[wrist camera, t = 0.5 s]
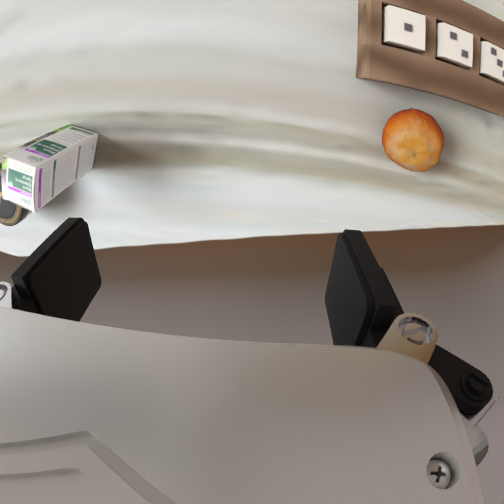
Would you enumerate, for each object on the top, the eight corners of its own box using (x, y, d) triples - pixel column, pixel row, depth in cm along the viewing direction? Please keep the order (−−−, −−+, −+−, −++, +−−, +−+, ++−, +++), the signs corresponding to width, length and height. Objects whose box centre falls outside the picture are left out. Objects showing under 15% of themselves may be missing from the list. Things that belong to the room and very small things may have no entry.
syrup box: (100, 132, 36) (36, 164, 24) (92, 170, 39) (34, 215, 27) (68, 124, 35) (1, 153, 23) (62, 161, 38) (0, 200, 26)
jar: (6, 189, 41) (-21, 208, 34) (16, 140, 36) (-14, 155, 30) (43, 216, 44) (18, 238, 37) (57, 167, 39) (28, 185, 32)
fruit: (450, 132, 33) (457, 166, 29) (406, 154, 39) (405, 189, 35) (417, 85, 30) (421, 111, 26) (372, 112, 36) (366, 142, 32)
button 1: (382, 8, 23) (389, 4, 22) (417, 17, 23) (426, 15, 21) (382, 42, 26) (389, 40, 24) (417, 51, 26) (425, 50, 24)
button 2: (435, 23, 23) (444, 22, 21) (464, 35, 23) (473, 34, 21) (434, 56, 26) (443, 56, 24) (463, 66, 26) (473, 67, 24)
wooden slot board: (358, -21, 24) (370, -32, 20) (493, 28, 24) (513, 28, 20) (356, 77, 32) (368, 78, 28) (488, 112, 31) (509, 119, 27)
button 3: (478, 41, 23) (488, 41, 21) (501, 52, 23) (511, 53, 21) (477, 72, 25) (487, 73, 24) (500, 82, 25) (510, 84, 24)
